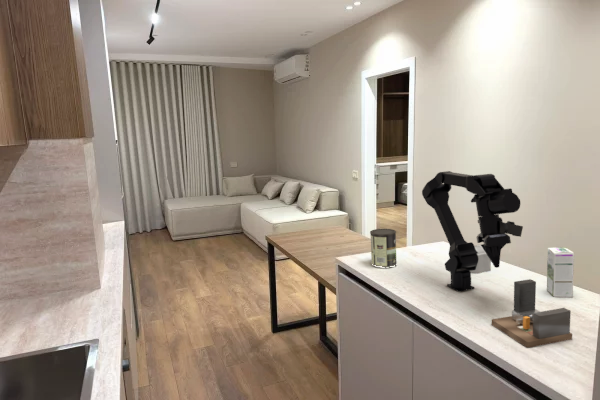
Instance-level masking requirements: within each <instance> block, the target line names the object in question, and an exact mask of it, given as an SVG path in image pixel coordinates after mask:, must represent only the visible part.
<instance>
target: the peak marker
mask: <svg viewBox="0 0 600 400" xmlns="http://www.w3.org/2000/svg"><path fill="white" fill-rule="evenodd" d="M523 328H524V329H530V317H528V316H525V317H523Z"/></svg>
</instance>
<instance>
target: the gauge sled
mask: <svg viewBox="0 0 600 400" xmlns="http://www.w3.org/2000/svg"><path fill="white" fill-rule="evenodd" d="M513 283H514V285H513V309H511V316H512V319H514V320H516V323H517V324H522V325H523V317H525V316H528V317H530V323H533V313H536V312H541V311H540V310H538V309H536V295H537V294H536V291H537V289H536V288H537V281H535V280H534V279H533V280H532V279H531V278H529V279H523V280H517V281H514V282H513Z"/></svg>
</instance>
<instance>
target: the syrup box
mask: <svg viewBox="0 0 600 400" xmlns="http://www.w3.org/2000/svg"><path fill="white" fill-rule="evenodd" d="M574 258H575V252H574V251H572V250H570V249H568V248H567V247H563V246H562V247H561V246H560V247H559V246H556V247H547V259H546V260H547V266H546V267H547V268H546V269H547V270H546V291H547V292H548V293H549V294H550V295H551V296H552V297H555V298H573V296H574V271H575V270H574V266H575V265H574V262H575V259H574Z"/></svg>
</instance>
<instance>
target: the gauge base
mask: <svg viewBox="0 0 600 400" xmlns="http://www.w3.org/2000/svg"><path fill="white" fill-rule="evenodd" d="M571 313H572V312H571V310H569V309H567V308H565V307H560V308H555V309H549V310H543V311H540V312H536V313H533V323H530V329H524V328H523V325H522V324H517V323H516V320H514V319H512V315H509V316H505V317H498V318H493V319H491V325H492V326H493V327H494V328H496V329H498V330H499V331H501V332H502V333H503V334H505V335H507V336H508V337H510V338H511V339H513V340H514V341H516V342H518V343H519V344H520V345H522V346H524V347H525V348H526V349H529V348H533V347H534V348H535V347H538V346H540V347H541V346H544V345H549V344H555V343H560V342H566V341H570V340H573V333H572V332H570V331H571Z"/></svg>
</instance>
